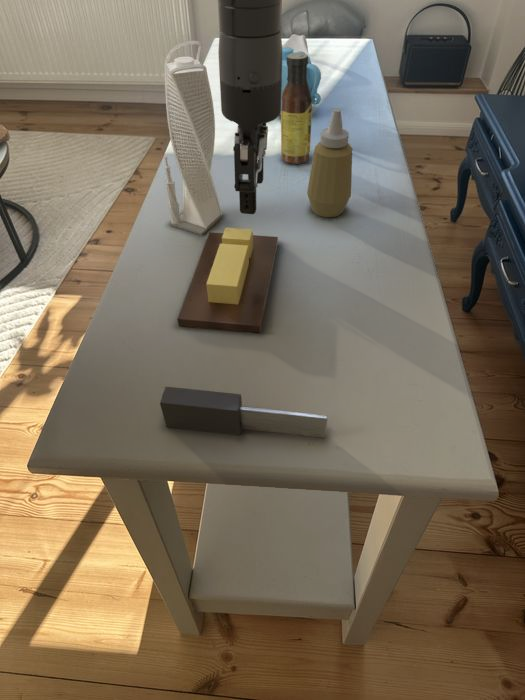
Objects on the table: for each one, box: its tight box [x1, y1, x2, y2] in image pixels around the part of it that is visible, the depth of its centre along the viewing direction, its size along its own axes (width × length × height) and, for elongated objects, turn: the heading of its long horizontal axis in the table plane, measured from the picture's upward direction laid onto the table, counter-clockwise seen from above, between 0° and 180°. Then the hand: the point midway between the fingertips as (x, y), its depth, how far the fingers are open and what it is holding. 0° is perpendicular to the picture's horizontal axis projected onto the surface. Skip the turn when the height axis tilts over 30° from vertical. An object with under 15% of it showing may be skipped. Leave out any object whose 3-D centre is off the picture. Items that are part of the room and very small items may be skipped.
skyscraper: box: [163, 40, 223, 236], centre depth 79 cm, size 8×8×28 cm
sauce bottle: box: [280, 53, 313, 165], centre depth 98 cm, size 7×6×20 cm
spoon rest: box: [282, 33, 311, 59], centre depth 142 cm, size 24×12×7 cm, turn 167°
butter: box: [207, 244, 249, 305], centre depth 73 cm, size 4×10×4 cm, turn 172°
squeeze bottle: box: [306, 108, 353, 218], centre depth 84 cm, size 8×8×18 cm
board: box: [176, 231, 279, 334], centre depth 76 cm, size 12×22×2 cm, turn 172°
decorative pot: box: [279, 47, 322, 116], centre depth 119 cm, size 16×16×14 cm
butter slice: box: [222, 227, 254, 258], centre depth 78 cm, size 4×3×4 cm, turn 82°
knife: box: [159, 386, 328, 439], centre depth 56 cm, size 19×2×5 cm, turn 82°
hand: (252, 196), depth 70 cm, fingers open, 8 cm apart
